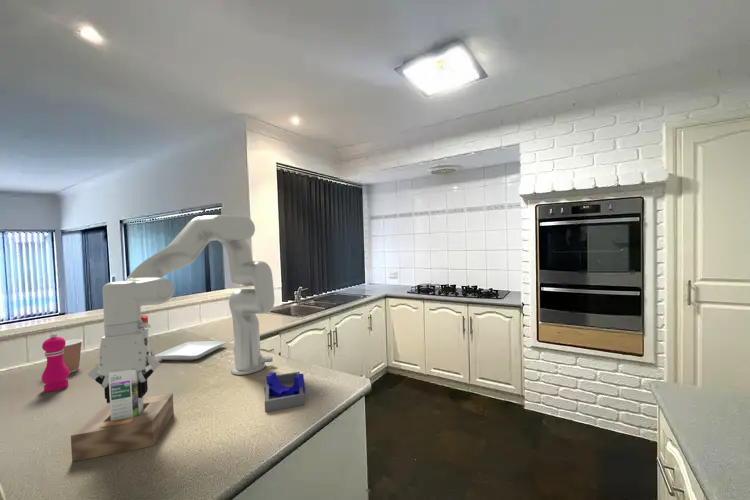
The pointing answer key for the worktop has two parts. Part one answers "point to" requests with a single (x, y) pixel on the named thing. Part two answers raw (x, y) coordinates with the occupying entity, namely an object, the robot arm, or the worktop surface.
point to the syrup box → (124, 394)
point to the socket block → (122, 429)
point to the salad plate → (190, 350)
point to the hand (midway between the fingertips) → (127, 397)
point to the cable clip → (281, 390)
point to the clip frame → (287, 400)
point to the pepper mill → (54, 364)
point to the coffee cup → (72, 354)
